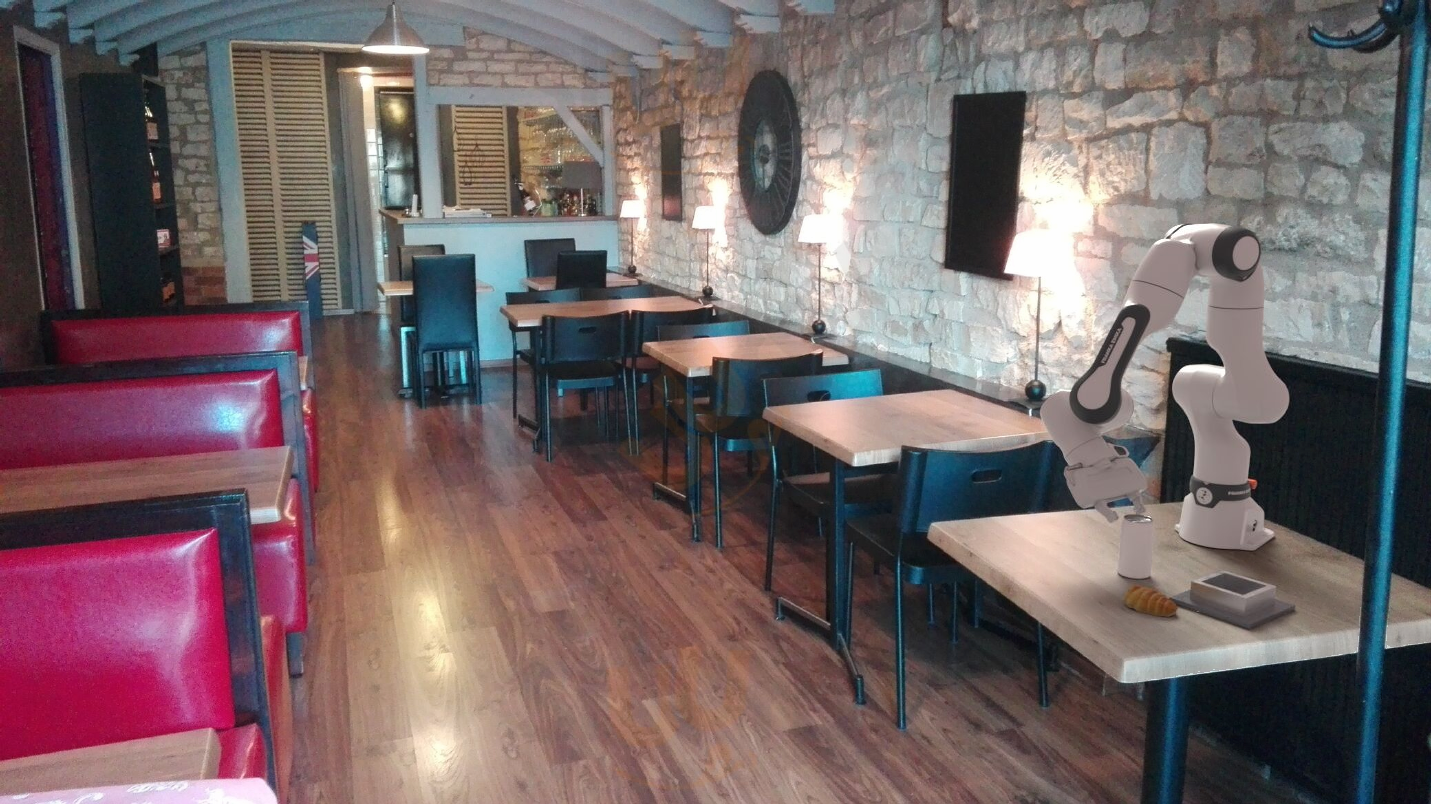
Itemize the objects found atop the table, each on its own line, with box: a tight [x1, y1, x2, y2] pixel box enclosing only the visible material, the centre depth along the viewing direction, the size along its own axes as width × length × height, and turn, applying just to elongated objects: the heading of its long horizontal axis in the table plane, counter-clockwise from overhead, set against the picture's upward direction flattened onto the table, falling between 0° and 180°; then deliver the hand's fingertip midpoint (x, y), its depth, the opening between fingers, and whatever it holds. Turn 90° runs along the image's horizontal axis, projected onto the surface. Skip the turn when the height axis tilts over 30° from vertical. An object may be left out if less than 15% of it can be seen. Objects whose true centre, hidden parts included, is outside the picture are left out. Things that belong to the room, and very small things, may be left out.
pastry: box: [1122, 584, 1178, 618], centre depth 210 cm, size 9×7×4 cm
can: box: [1116, 513, 1156, 580], centre depth 228 cm, size 6×6×12 cm
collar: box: [1169, 569, 1296, 630], centre depth 212 cm, size 16×16×4 cm
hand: (1128, 517), depth 228 cm, fingers open, 8 cm apart
